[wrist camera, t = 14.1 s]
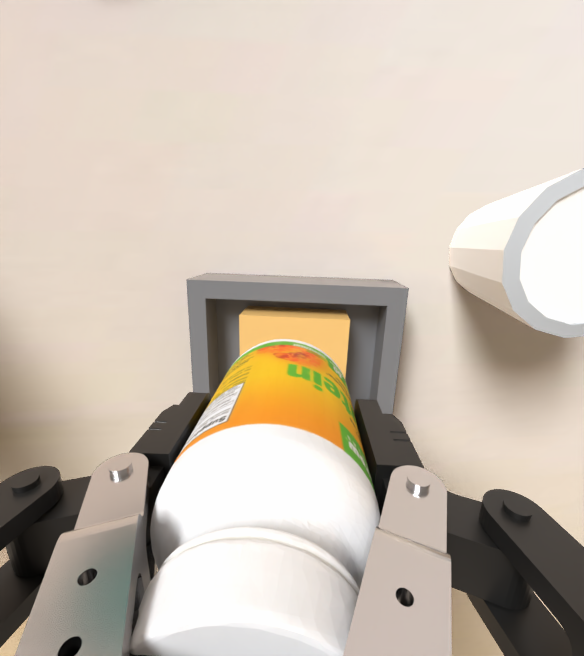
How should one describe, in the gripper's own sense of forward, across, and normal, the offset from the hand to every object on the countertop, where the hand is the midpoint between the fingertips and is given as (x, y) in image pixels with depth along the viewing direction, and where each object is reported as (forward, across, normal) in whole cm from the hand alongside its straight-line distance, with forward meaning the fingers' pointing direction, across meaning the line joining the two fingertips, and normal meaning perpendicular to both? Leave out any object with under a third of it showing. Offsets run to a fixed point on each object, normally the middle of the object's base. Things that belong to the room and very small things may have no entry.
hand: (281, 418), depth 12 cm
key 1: (+9, 0, +1) cm, 9 cm away
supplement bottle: (+2, 0, 0) cm, 2 cm away
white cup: (+10, -12, -6) cm, 17 cm away
